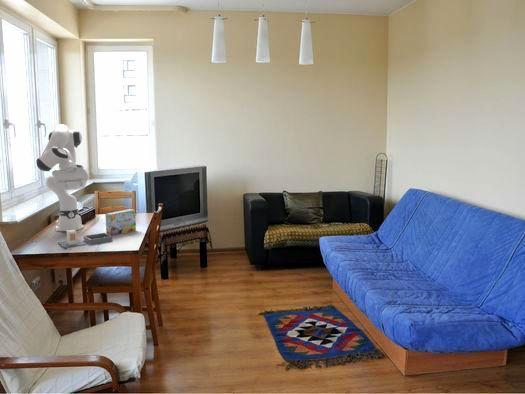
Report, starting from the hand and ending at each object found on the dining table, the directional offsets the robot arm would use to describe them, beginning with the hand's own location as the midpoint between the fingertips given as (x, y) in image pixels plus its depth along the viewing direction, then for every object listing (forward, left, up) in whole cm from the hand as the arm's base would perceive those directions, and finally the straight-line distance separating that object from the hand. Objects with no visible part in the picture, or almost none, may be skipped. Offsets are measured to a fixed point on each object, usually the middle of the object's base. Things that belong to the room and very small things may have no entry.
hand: (73, 186), depth 286 cm
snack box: (+1, +28, -35) cm, 45 cm away
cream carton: (+13, -7, -33) cm, 37 cm away
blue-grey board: (+12, -7, -34) cm, 37 cm away
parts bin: (+15, +8, -34) cm, 38 cm away
